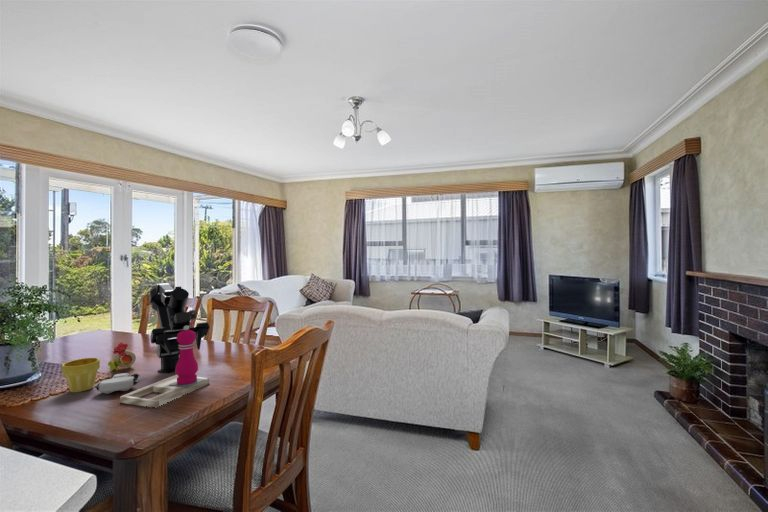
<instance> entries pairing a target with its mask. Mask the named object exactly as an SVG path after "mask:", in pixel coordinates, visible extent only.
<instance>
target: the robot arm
mask: <svg viewBox="0 0 768 512" xmlns="http://www.w3.org/2000/svg"><path fill="white" fill-rule="evenodd" d="M188 299H189V291H187V290H186V289H185V288H183V287H182V286H175V287H173V286H171V284H170V283H168V282H166V283H164V282H163V283H161V282H160V283H156V284H155V287H154V288H152V289H151V290H150V291H149V295H148V303H149V304H150V306H151V309H153V310H154V311H155V312H157V318H158V321H159V327H156V328H152V330H151V332H150V343H151V344H155V345H156V346H157V348H156V357H157V358H159V359H160V369H158V370H157V372H160V373H167V374H170V373H174V372H175V368H176V365H177V363H178V360H179V357H180V349H179V346H178V345H179V342H178V341H177V335H178V333H179V332H181V331H183V330H184V329H183V328H184V326H189V329H188V330H192V331H194V332H195V334H196V339H195V343H196V347H197V351H200V350H201V349H200V348H201V342H202V339H203V338H204V337H205V336H207V335H208V333H209V329H210V324H209V322H208V321H205V322H196V324H195V326H194V327H190V326H191V321H192V320H195V319H196V318H197V314H196V310H195V309H191V310H189V311H185V308H186V306H187V303H188ZM173 371H174V372H173Z"/></svg>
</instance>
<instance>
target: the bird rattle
mask: <svg viewBox="0 0 768 512" xmlns="http://www.w3.org/2000/svg"><path fill="white" fill-rule="evenodd" d="M128 346H129V345H128V343H122V342H119V343H118V345H117V346H115V347H114V348H113V354H114V355H115V357H114V358H113V360H111V361H109V362H108V363H107V366H108V367H109V370H110V371H118V372H119V370H120V369H119V367H120V368H128V369H131V367H132V366H133V365H134V363H135V362H136V359H137V357H136V354H135V353H134V352H133V351H132V350H128V349H127V348H128Z"/></svg>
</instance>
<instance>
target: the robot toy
mask: <svg viewBox="0 0 768 512" xmlns="http://www.w3.org/2000/svg"><path fill="white" fill-rule="evenodd" d="M139 377H141V374H139V373H133V374H131V375H130V374H129V373H128V372H124V373H117V374H114V375H113V376H112V377H111V376H110V377H109V376H108V377H107V376H106V377H105V378H104V379H103V380H101V381H100V382H99V383H97V385H94V386H93V388H95V389H96V390H97V391H98V392H99V393H104V394H106V395H107V394H112V393H114V392H118V391H120V392H127V391H129V390H130V389H132V388H133V387H134V386H136V384H137V383H139ZM93 388H92V389H93Z"/></svg>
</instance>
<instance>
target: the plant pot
mask: <svg viewBox="0 0 768 512" xmlns="http://www.w3.org/2000/svg"><path fill="white" fill-rule="evenodd" d="M100 362H101V361H100V358H98V357H83V358H77V359H73V360H70V361H66V362H64V363H63V364H62V365H61V372H62V373H61V374H62V376H64V377H65V380H66V383H67V386H68V389H69V392H70V393H82V392H85V391H89V390H91V389H93V386H95V383H96V379H97V373H98V371H99V369H100V366H101V365H100V364H101V363H100Z"/></svg>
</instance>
